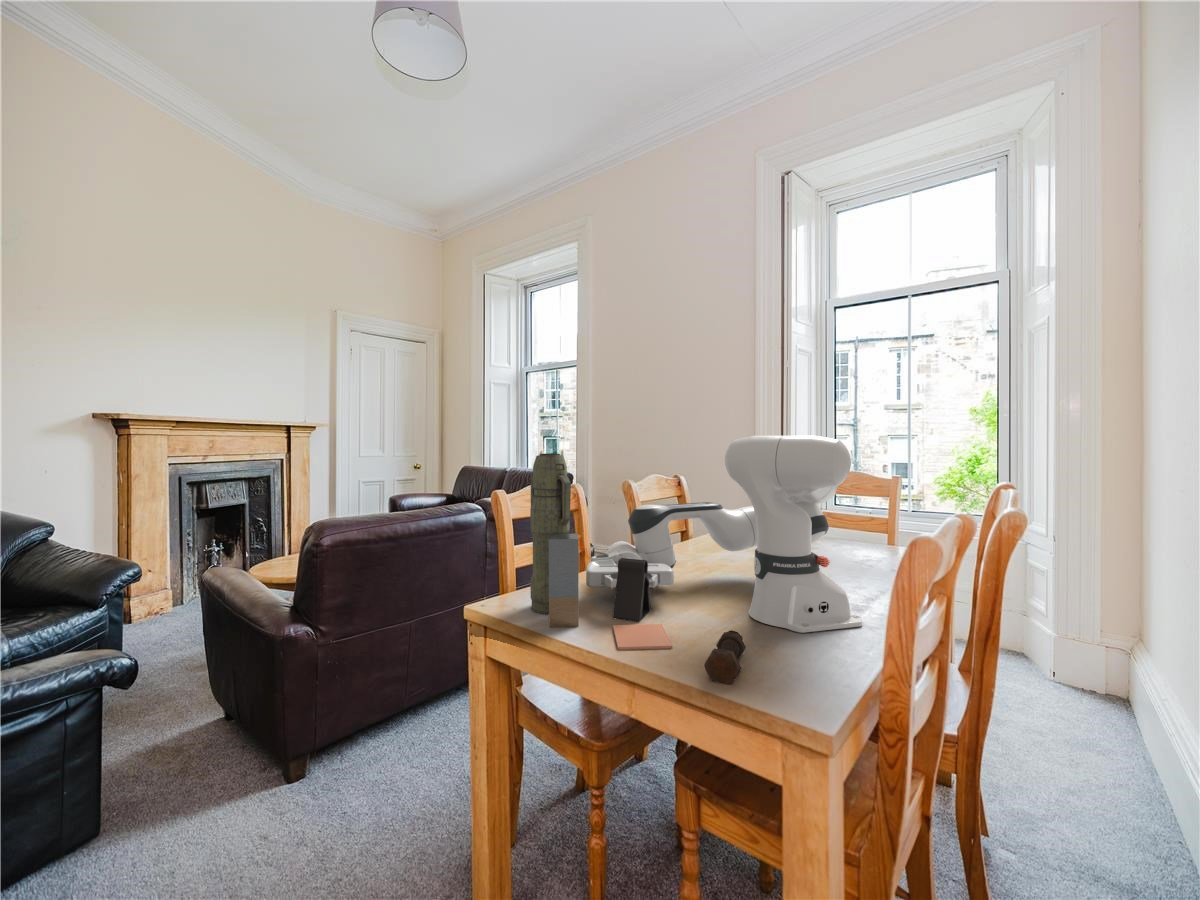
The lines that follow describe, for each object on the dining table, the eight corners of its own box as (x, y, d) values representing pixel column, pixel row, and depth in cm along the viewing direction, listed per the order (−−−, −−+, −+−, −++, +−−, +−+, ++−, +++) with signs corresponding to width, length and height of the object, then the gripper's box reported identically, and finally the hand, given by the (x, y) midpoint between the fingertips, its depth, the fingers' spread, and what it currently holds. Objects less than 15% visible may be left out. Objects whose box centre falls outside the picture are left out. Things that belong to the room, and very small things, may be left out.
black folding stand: (627, 606, 120) (627, 554, 119) (652, 609, 117) (652, 556, 117) (612, 618, 111) (612, 562, 111) (639, 622, 109) (639, 565, 109)
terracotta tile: (661, 626, 107) (661, 624, 107) (672, 648, 96) (672, 645, 96) (613, 627, 106) (613, 625, 106) (618, 649, 95) (618, 647, 95)
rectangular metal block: (579, 616, 113) (579, 533, 112) (580, 626, 107) (579, 539, 106) (550, 617, 112) (549, 533, 112) (549, 627, 106) (548, 539, 106)
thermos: (557, 619, 111) (556, 454, 110) (518, 608, 118) (517, 453, 117) (583, 608, 118) (583, 453, 117) (544, 598, 125) (544, 452, 124)
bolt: (738, 659, 96) (726, 693, 82) (714, 641, 97) (698, 673, 83) (754, 633, 95) (745, 664, 81) (730, 616, 96) (717, 644, 82)
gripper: (668, 580, 128) (680, 598, 114) (585, 582, 127) (587, 599, 113) (668, 555, 128) (680, 569, 114) (585, 556, 127) (587, 571, 113)
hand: (633, 584), depth 114 cm, fingers open, 7 cm apart
